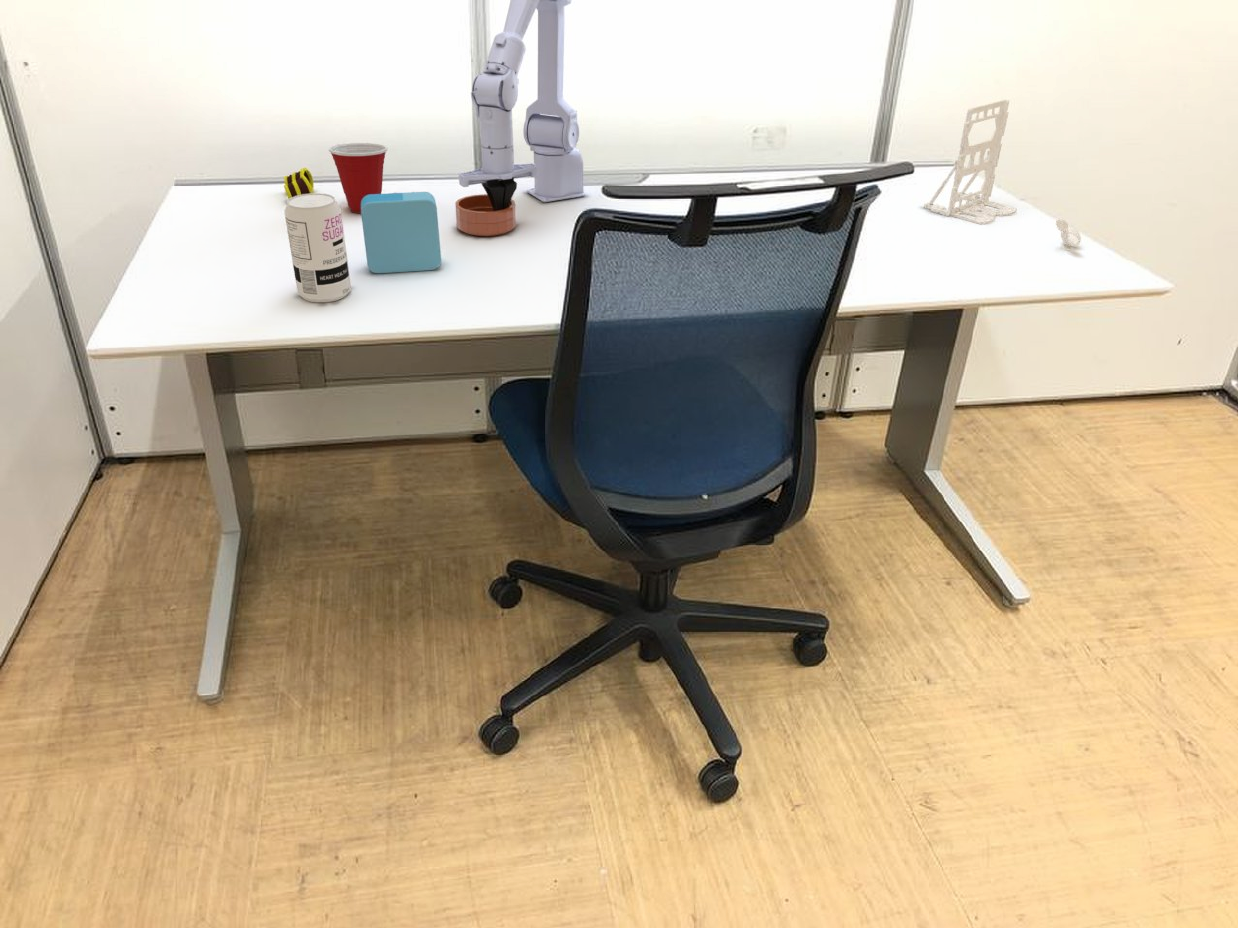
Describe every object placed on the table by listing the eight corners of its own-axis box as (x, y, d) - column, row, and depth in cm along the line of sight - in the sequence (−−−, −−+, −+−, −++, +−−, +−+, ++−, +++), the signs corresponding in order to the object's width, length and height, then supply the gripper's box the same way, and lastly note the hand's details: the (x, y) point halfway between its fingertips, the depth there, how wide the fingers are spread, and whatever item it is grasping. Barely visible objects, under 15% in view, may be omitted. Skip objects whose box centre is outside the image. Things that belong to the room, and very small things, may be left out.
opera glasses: (290, 194, 205) (281, 170, 202) (316, 187, 205) (307, 164, 203) (290, 209, 197) (281, 184, 194) (317, 202, 197) (308, 177, 195)
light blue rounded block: (440, 260, 172) (434, 190, 166) (442, 269, 169) (436, 199, 162) (368, 264, 170) (359, 194, 164) (368, 274, 166) (359, 203, 160)
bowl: (487, 214, 193) (486, 190, 191) (527, 227, 187) (527, 203, 185) (444, 227, 186) (442, 203, 184) (485, 241, 180) (484, 216, 178)
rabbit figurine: (1090, 246, 183) (1086, 238, 176) (1070, 261, 184) (1066, 253, 177) (1069, 222, 185) (1064, 213, 178) (1050, 236, 186) (1044, 228, 179)
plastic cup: (400, 201, 199) (394, 139, 193) (384, 219, 190) (377, 154, 184) (347, 199, 200) (339, 137, 194) (328, 216, 191) (319, 152, 185)
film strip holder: (982, 226, 191) (1005, 118, 181) (920, 208, 200) (938, 104, 189) (1022, 211, 199) (1046, 107, 189) (961, 195, 208) (981, 94, 198)
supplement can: (303, 284, 162) (288, 192, 154) (355, 283, 163) (343, 191, 155) (293, 304, 156) (277, 209, 148) (348, 303, 156) (335, 208, 148)
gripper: (467, 155, 173) (472, 232, 180) (543, 145, 179) (545, 220, 186) (452, 145, 178) (457, 221, 185) (526, 136, 184) (529, 209, 191)
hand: (500, 219), depth 186 cm, fingers closed
